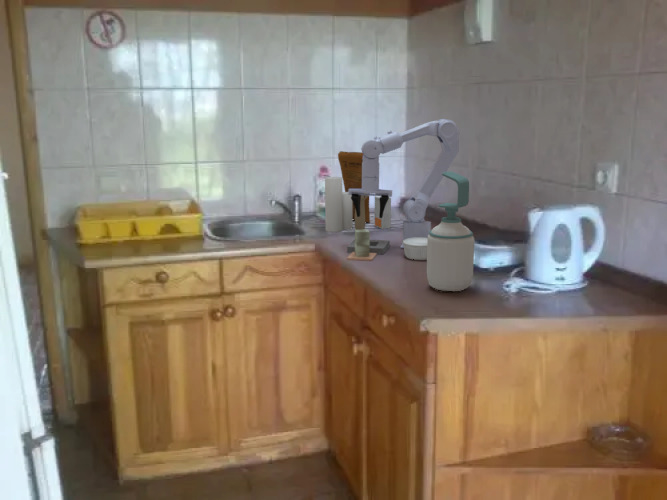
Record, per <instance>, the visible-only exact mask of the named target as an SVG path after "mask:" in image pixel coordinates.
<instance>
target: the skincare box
mask: <svg viewBox="0 0 667 500" xmlns="http://www.w3.org/2000/svg"><path fill="white" fill-rule="evenodd" d="M380 197H381V196H374V227H376V226H377V227H376V228H378V227H379V228H378V229H381V230H385V229H386V228H388V229H391V228H392V198H391V197H389V199H388V201H387V203H386V206H385V208H384V212H383V217H382V218H379V214H380Z"/></svg>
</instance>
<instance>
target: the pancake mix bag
mask: <svg viewBox="0 0 667 500" xmlns="http://www.w3.org/2000/svg"><path fill="white" fill-rule="evenodd" d="M363 155H364V154H363V153H362V151H361V152H359V151H339V152H338V153H337V158H338V164H339V166H340V171H341V177H342V184H343V188H344V192H348V189H362V162H363V160H362V158H363ZM368 194H369V193H368ZM364 203H365V222H370V223H371V217H370V214H371V213H370V196H368V197H367V198H366V199H365V202H364ZM352 219H354V220H355V206H354V204H353V201H352Z"/></svg>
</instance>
